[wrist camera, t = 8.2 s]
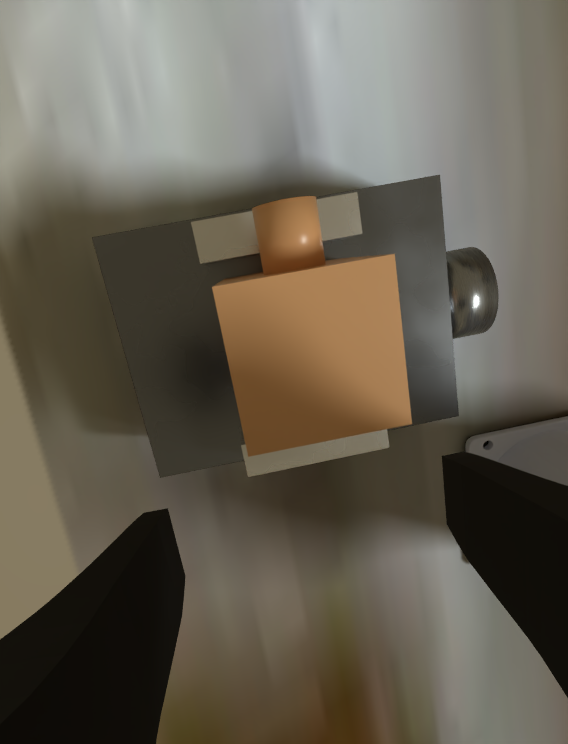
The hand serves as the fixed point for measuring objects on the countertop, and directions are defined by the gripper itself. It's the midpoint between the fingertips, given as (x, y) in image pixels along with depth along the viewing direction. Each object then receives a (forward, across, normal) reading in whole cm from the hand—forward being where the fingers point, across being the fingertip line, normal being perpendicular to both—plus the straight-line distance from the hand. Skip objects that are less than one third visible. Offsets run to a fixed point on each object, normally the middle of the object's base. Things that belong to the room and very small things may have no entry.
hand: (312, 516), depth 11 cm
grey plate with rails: (+10, -1, -4) cm, 10 cm away
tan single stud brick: (+6, -1, -4) cm, 7 cm away
